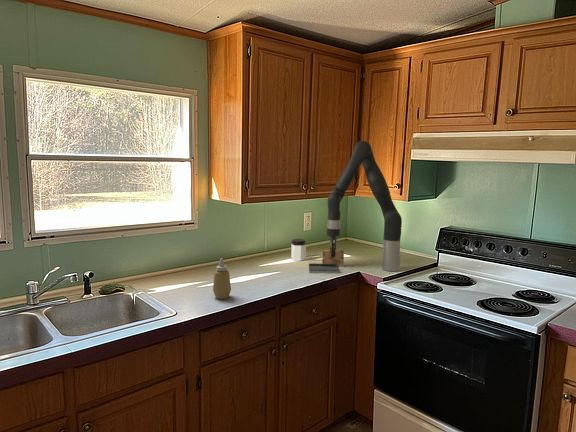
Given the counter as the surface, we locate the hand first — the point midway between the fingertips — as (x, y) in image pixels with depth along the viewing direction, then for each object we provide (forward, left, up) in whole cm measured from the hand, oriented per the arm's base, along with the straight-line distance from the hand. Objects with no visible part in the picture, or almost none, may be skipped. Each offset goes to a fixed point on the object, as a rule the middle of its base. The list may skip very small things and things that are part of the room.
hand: (332, 254), depth 246 cm
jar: (+20, -14, -7) cm, 25 cm away
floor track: (+6, +11, -6) cm, 14 cm away
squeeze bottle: (+54, +57, -7) cm, 79 cm away
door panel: (0, 0, -7) cm, 7 cm away
